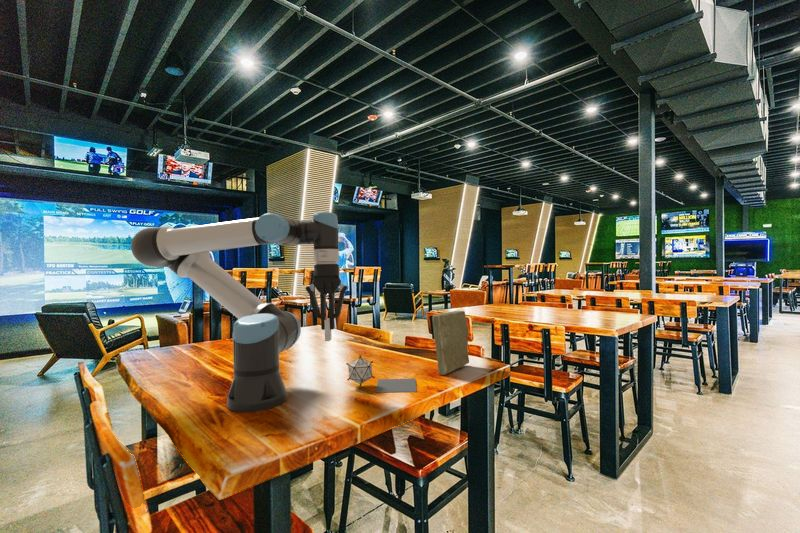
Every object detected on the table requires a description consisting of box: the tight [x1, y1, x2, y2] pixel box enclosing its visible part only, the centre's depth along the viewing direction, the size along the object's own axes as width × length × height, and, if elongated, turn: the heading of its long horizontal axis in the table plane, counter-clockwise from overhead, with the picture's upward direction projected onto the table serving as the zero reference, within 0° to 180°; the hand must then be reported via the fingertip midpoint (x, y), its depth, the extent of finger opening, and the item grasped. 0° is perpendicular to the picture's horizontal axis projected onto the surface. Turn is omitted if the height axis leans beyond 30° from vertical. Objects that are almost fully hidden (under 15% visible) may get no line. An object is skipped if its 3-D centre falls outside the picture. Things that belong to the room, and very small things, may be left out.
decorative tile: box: [431, 310, 470, 376], centre depth 130 cm, size 19×6×20 cm, turn 143°
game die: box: [346, 354, 376, 387], centre depth 112 cm, size 9×8×10 cm
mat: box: [375, 378, 418, 394], centre depth 112 cm, size 12×12×1 cm
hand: (328, 340), depth 112 cm, fingers closed
